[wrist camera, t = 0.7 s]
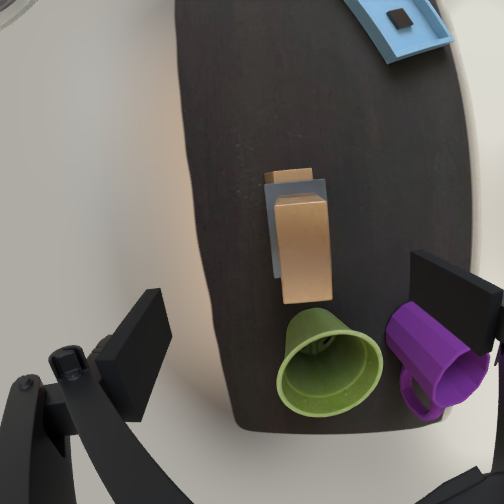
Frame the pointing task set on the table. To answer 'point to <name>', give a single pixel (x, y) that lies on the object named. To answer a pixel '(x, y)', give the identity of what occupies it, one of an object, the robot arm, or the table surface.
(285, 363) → the plant pot
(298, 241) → the brush
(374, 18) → the pan
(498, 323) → the robot arm
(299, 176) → the square wooden block
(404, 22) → the dark grey flat block
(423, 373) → the mug
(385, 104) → the table surface
